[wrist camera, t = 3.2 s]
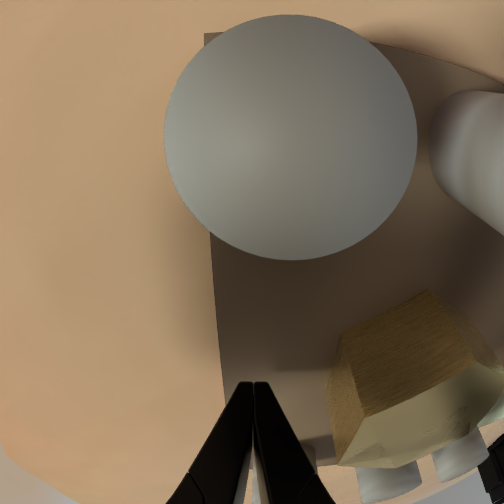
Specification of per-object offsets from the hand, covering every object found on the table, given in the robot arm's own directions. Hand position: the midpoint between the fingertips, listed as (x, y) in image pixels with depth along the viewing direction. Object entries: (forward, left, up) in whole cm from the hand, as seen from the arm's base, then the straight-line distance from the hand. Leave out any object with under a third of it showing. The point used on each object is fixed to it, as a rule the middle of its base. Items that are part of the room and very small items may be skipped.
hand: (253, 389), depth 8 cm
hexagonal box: (-5, 0, -1) cm, 5 cm away
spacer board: (-9, 0, -2) cm, 9 cm away
